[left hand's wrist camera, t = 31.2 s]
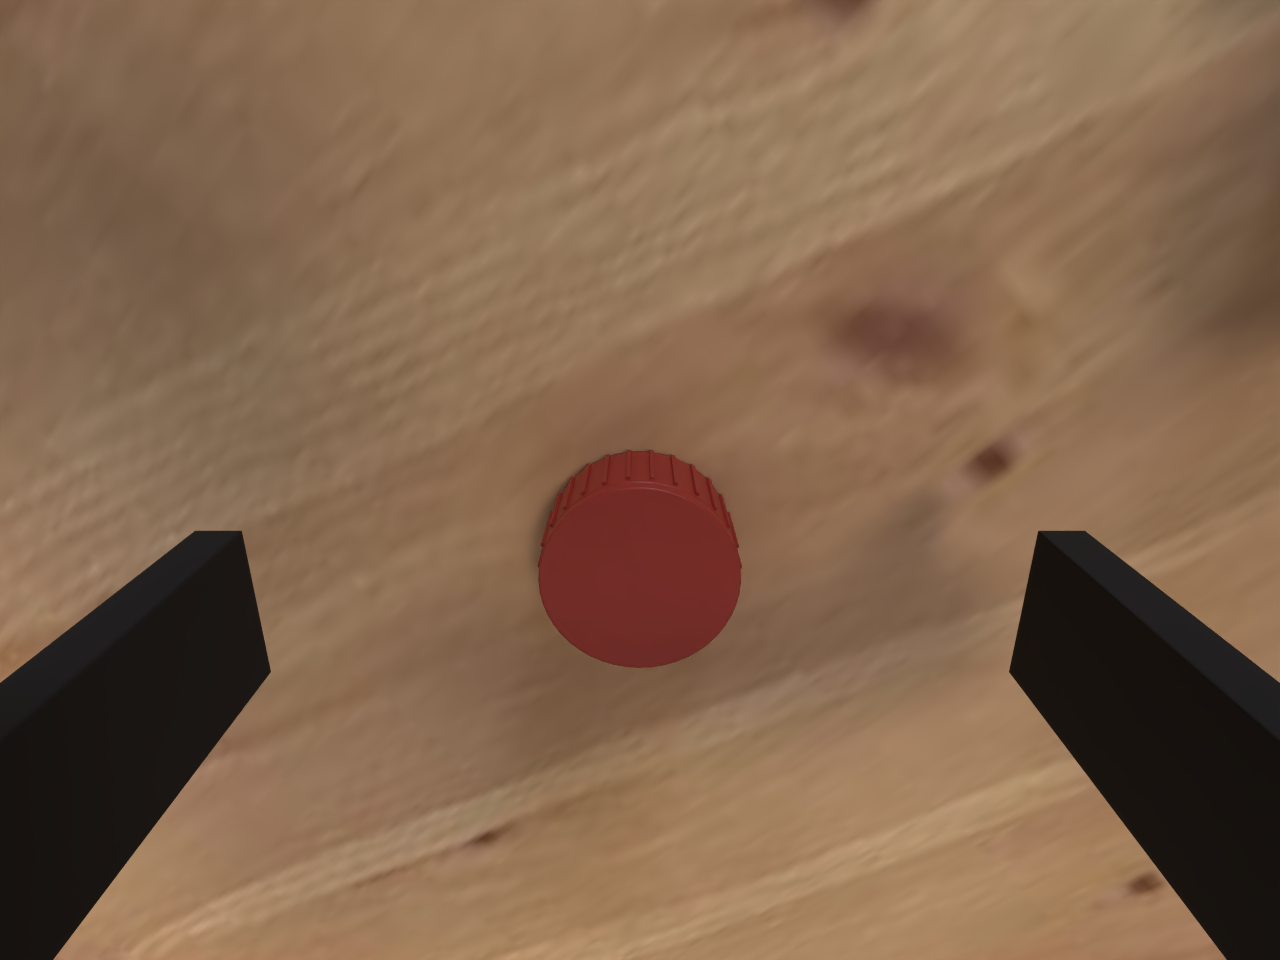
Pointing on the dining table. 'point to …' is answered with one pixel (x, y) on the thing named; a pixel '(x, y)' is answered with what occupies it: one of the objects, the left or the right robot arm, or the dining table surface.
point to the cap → (639, 561)
